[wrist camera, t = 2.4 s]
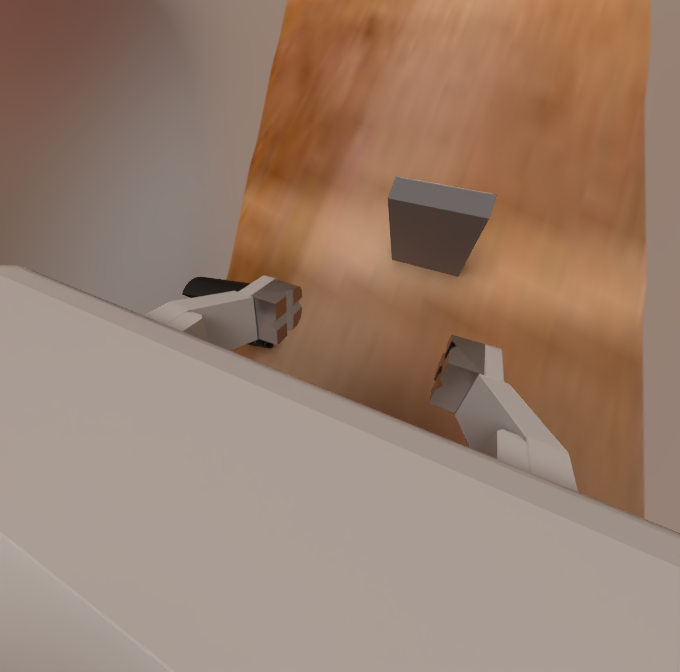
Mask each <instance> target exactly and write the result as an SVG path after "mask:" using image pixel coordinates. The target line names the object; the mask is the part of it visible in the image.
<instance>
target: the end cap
mask: <svg viewBox="0 0 680 672" xmlns="http://www.w3.org/2000/svg"><path fill="white" fill-rule="evenodd" d="M249 284H250V283H243V282H236V281H228V280H221V279H214V278H206V277H196V278H194V279H192V280H191V281H190V282H189V283H188V284H187V285H186V287H185V288H184V290H183V293H182V294H183V295H185V296H188V297H190V298H195V297H201V296H207V295H212V294H218V293H224V292H230V291H237V292H239V291H240V290H242V289H243V288H245V287H246V286H248V285H249ZM248 344H249V345H255V346H260V347H265V348H271V347H273V345H274V344H272V343H269V342H267V341H264V340H261V339H258V340H256V341H253V342H250V343H248Z"/></svg>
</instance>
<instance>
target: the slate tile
mask: <svg viewBox="0 0 680 672" xmlns="http://www.w3.org/2000/svg"><path fill="white" fill-rule="evenodd" d="M496 197H497V195H494V194H490V193H485V192H479V191H474V190H468V189H463V188H457V187H452V186H446V185H441V184H435V183H430V182H424V181H418V180H413V179H407V178H402V177H395V180H394V183H393V186H392V188H391V191H390V194H389V196H388V208H389V223H390V237H391V252H392V260H396V261H400V262H404V263H408V264H412V265H415V266H419V267H423V268H427V269H431V270H435V271H439V272H443V273H446V274H450V275H454V276H458V275H459V273H460V271H461V270H462V268H463V266H464V264H465V262H466V260H467V259H468V257H469V255H470V253H471V251H472V249H473V248H474V246H475V244H476V242H477V240H478V238H479V236H480V235H481V233H482V231H483V229H484V227H485V225H486V224H487V222H488V220H489V218H490V215H491V212H492V209H493V206H494V203H495V200H496Z"/></svg>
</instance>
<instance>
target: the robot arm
mask: <svg viewBox="0 0 680 672" xmlns="http://www.w3.org/2000/svg"><path fill="white" fill-rule="evenodd" d="M301 298H302V289H301V288H300V286H297V285H294V284H291V283H288V282H285V281H282V280H279V279H276V278H273V277H269V276H262V277H260V278H259V279H257V280H256V281H254V282H253V283H251V284H249V285H248V286H246V287H245V288H243V289H242V290H240V291H239V292H237V291H230V292H224V293H218V294H212V295H207V296H201V297H195V298H189V299H183V300H177V301H171V302H168V303H166V304H164V305H162V306H160V307H159V308H157V309H155V310H153V311H151V312H149V313H148V314H146V315H144V316H143V315H141V314H138V313H136V312H133V311H131V310H128V309H126V308H123V307H121V306H118V305H116V304H114V303H111V302H109V301H106V300H104V299H101V298H99V297H96V296H94V295H91V294H89V293H86V292H84V291H82V290H79V289H77V288H74V287H72V286H69V285H67V284H64V283H62V282H60V281H57V280H55V279H52V278H50V277H47V276H45V275H43V274H40V273H38V272H35V271H33V270H31V269H28V268H25V267H22V266H16V265H0V672H680V533H678V532H675V531H673V530H671V529H668V528H665V527H663V526H661V525H658V524H655V523H653V522H651V521H648V520H646V519H643V518H641V517H638V516H636V515H634V514H631V513H629V512H626V511H624V510H621V509H619V508H616V507H614V506H611V505H609V504H606V503H604V502H602V501H599V500H597V499H594V498H592V497H589V496H587V495H584V494H582V493H579V492H578V490H577V486H576V482H575V478H574V474H573V470H572V465H571V461H570V457H569V453H568V452H567V451H566V450H565V448H564V447H563V446H562V445H561V444H560V443H559V441H558V440H557V439H556V438H555V437H554V436H553V435H552V433H551V432H550V431H549V430H548V429H547V428H546V426H545V425H544V424H543V423H542V422H541V421H540V419H539V418H538V417H537V416H536V415H535V414H534V412H533V411H532V410H531V409H530V408H529V407H528V405H527V404H526V403H525V402H524V401H523V400H522V398H521V397H520V396H519V395H518V394H517V393H516V391H515V390H514V389H513V388H512V387H511V386H510V384H507V383H505V382H504V372H503V358H502V350H501V349H500V348H497V347H494V346H490V345H486V344H482V343H479V342H475V341H472V340H469V339H465V338H462V337H458V336H455V335H451V337H450V339H449V341H448V343H447V347H446V352H445V353H444V354H442V357H441V359H440V362H439V364H438V367H437V370H436V373H435V378H434V380H435V383H434V385H433V388H432V391H431V396H430V401H429V403H430V404H433V405H435V406H438V407H440V408H442V409H445V410H447V411H450V412H452V413H455V416H456V418H457V421H458V423H459V425H460V427H461V430H462V432H463V434H464V436H465V438H466V441H467V443H468V445H469V447H470V448H468V447H466V446H463V445H461V444H458V443H456V442H453V441H451V440H449V439H446V438H444V437H441V436H439V435H436V434H434V433H431V432H429V431H426V430H424V429H421V428H419V427H417V426H414V425H412V424H409V423H407V422H404V421H402V420H399V419H397V418H394V417H392V416H390V415H387V414H385V413H382V412H380V411H377V410H375V409H372V408H370V407H367V406H365V405H363V404H360V403H358V402H355V401H353V400H350V399H348V398H345V397H343V396H340V395H338V394H335V393H333V392H331V391H328V390H326V389H323V388H321V387H318V386H316V385H313V384H311V383H308V382H306V381H303V380H301V379H298V378H296V377H293V376H291V375H288V374H286V373H283V372H281V371H279V370H276V369H274V368H271V367H269V366H266V365H264V364H261V363H259V362H256V361H254V360H251V359H249V358H247V357H244V356H242V355H239V354H237V353H234V352H232V351H230V350H233V349H235V348H238V347H240V346H243V345H245V344H248V343H250V342H253V341H256V340H258V339H261V340H264V341H267V342H269V343H272V344H275V345H278V344H279V343H280V342H281V341H282V340H283V339H284V338H285V337H286V336H287V331H289V330H292V329H294V328H295V327H296V326H297V324H298V322H299V320H300V318H301V313H302V307H301V305H300V303H299V302H298V301H299V300H300V299H301Z"/></svg>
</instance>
